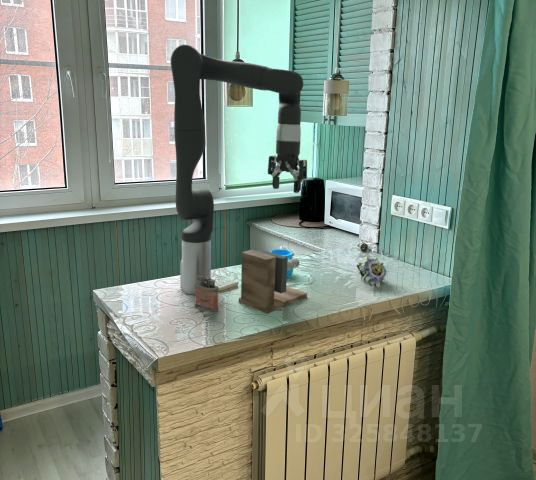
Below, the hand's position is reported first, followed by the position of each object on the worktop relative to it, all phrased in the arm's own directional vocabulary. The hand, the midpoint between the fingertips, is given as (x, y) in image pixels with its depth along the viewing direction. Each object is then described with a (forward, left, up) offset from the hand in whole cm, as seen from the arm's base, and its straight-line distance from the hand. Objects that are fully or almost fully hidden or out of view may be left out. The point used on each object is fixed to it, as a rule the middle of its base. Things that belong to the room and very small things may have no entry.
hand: (286, 190), depth 167 cm
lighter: (-4, -30, -33) cm, 45 cm away
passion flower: (+18, +26, -33) cm, 46 cm away
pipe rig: (+5, -10, -33) cm, 35 cm away
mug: (-8, +10, -33) cm, 36 cm away
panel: (+5, -12, -29) cm, 31 cm away
